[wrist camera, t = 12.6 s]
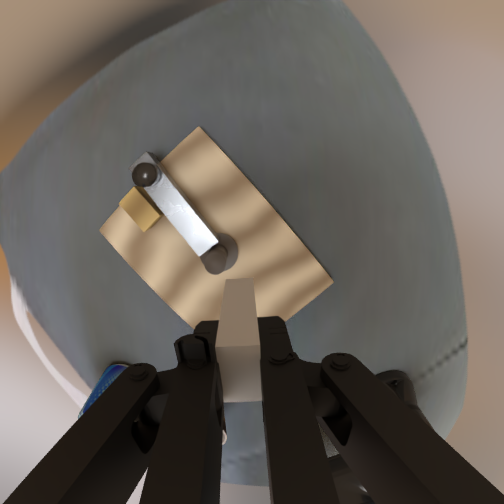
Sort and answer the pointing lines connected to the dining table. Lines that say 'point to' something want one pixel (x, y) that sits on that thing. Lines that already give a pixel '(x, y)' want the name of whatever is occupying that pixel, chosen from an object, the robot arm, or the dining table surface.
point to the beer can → (103, 384)
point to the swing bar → (173, 203)
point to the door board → (223, 252)
